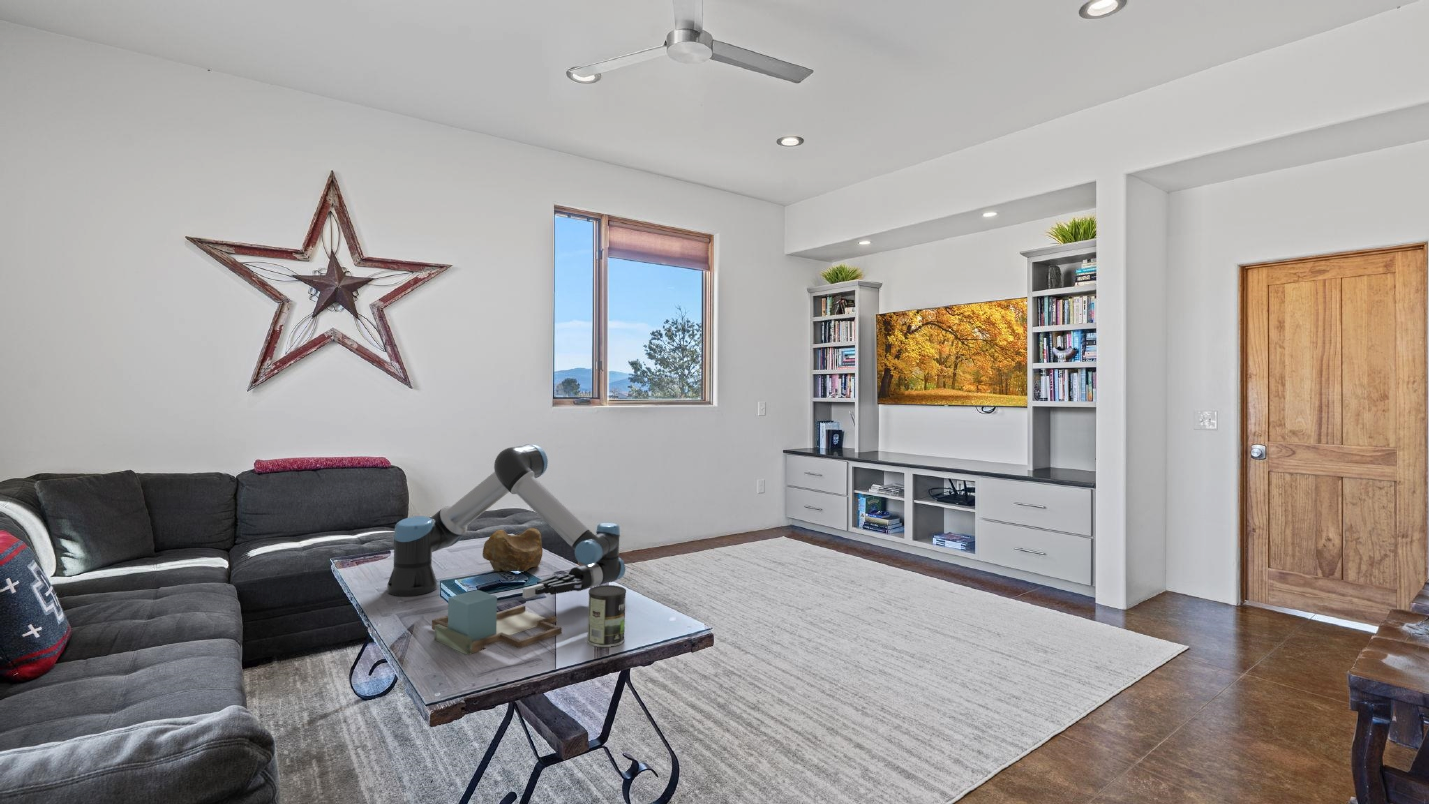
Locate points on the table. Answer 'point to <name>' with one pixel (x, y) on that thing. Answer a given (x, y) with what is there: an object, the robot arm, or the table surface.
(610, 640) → the coffee can
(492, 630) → the teal block
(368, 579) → the table surface
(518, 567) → the rough brown rock
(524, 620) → the trap lane
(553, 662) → the table surface
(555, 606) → the table surface
